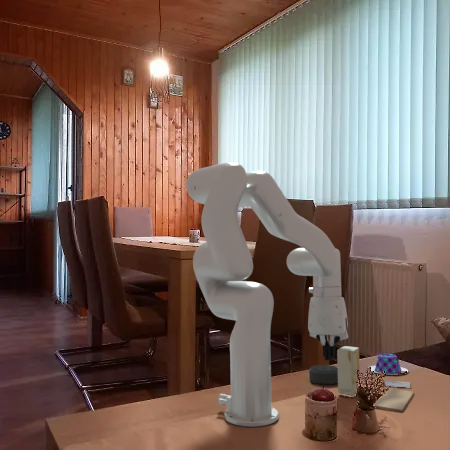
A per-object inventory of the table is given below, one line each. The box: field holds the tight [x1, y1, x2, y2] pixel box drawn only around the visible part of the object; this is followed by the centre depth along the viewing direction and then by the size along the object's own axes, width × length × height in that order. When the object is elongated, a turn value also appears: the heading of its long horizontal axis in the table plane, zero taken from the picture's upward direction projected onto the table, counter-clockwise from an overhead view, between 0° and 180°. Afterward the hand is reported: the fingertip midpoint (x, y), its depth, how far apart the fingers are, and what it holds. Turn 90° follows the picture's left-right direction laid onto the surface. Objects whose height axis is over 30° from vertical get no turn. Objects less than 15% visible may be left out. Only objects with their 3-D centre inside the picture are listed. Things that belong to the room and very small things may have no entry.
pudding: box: [369, 353, 409, 376], centre depth 150 cm, size 12×12×5 cm
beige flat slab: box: [355, 387, 415, 413], centre depth 122 cm, size 11×16×1 cm
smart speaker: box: [308, 364, 338, 386], centre depth 140 cm, size 9×9×4 cm
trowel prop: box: [373, 376, 411, 389], centre depth 136 cm, size 16×5×2 cm, turn 69°
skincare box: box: [336, 345, 361, 396], centre depth 127 cm, size 6×4×12 cm
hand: (329, 359), depth 130 cm, fingers closed
